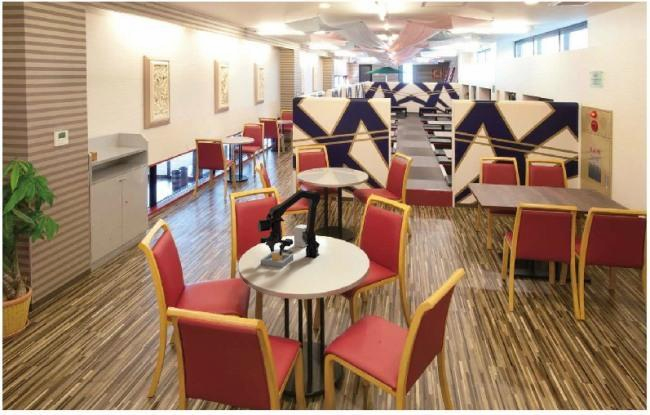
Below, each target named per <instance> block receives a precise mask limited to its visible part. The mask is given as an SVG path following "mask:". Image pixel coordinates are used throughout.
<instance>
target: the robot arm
mask: <svg viewBox="0 0 650 415" xmlns="http://www.w3.org/2000/svg"><path fill="white" fill-rule="evenodd" d="M321 198H322V195H321V194H320V193H319V192H318V191H316V190H314V189H312V190H303V189H298V190H297V191H296V192H295V193H294V194H292V195H291V196H289V197H288V198H287V199H285V200H284V201H283V202H281V203H279V204H276V205H274V206H271V207H270V208H269V211H268V213H267V215H266V217H265V219H258V221H257V225H256V227H257V228H256V229H257V230H258V232H259V233H261V232H268V231H270V232H269V236H268V235H264V236H262V237H261V238H259V243H260V244H265V246H267V247H268V248H269V250H270V253H271V252H273V251H274V250H275V246H276V244H280V245H278V247H279V250H280V256H281V255H282V254H284V252H283V250H284V249H285V248H286V247H290V246H291V245H293V244H294V239H292V238H285V239H283V236H282V233H283V230H282V222H285V220H284V218H282V216H284V214H285V213H286V211H287V210H288V209H290V208H291V207H292V206H293V205H295V204H296V203H298V202H299V201H300V200H301V199H307V203H308V211H307V220H306V225H307V227H306V230H305V232H304V231H303V232H302V238H303V241H304V242H305V243H306V245H307V246H306V248H305V257H306V258H313V259H315V258H317V257H319V256H320V253H319V247H320V243H319V242H318V241H317V237H316V232H315V225H316V217H317V209H318V208H317V207H318V206H319V204H320V202H321Z"/></svg>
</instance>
